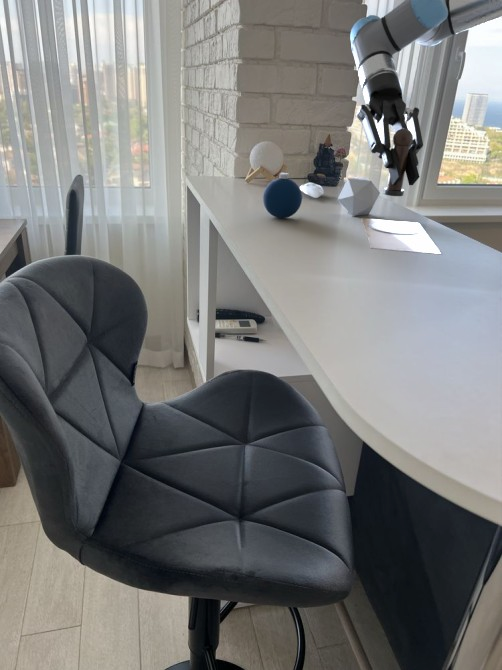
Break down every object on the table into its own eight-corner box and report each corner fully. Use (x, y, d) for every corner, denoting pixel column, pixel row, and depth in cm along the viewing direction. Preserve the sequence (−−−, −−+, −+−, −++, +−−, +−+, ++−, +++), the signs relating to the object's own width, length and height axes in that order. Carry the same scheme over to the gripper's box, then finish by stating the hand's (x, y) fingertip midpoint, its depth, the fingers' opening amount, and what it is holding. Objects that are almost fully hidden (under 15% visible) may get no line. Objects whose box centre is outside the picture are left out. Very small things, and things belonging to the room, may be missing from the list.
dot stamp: (401, 193, 105) (413, 128, 99) (404, 196, 101) (416, 130, 96) (382, 191, 105) (392, 127, 100) (384, 195, 102) (395, 128, 96)
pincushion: (327, 200, 130) (329, 178, 128) (304, 199, 130) (306, 177, 127) (317, 191, 141) (319, 170, 138) (295, 191, 140) (297, 169, 138)
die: (379, 222, 114) (391, 182, 116) (352, 203, 110) (365, 162, 111) (352, 227, 122) (364, 189, 123) (326, 210, 117) (338, 171, 118)
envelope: (418, 224, 112) (419, 221, 111) (441, 256, 90) (442, 253, 90) (361, 219, 113) (361, 217, 113) (370, 250, 91) (371, 247, 91)
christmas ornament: (308, 219, 110) (312, 172, 106) (279, 224, 105) (283, 174, 101) (282, 211, 116) (285, 166, 112) (254, 215, 111) (256, 168, 107)
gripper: (406, 100, 111) (431, 192, 104) (338, 96, 107) (360, 192, 100) (424, 73, 104) (453, 169, 97) (352, 67, 100) (376, 168, 93)
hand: (405, 180), depth 98 cm, fingers closed on dot stamp, 3 cm apart
